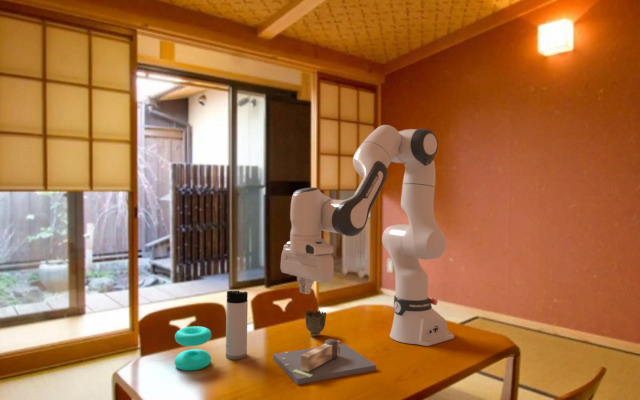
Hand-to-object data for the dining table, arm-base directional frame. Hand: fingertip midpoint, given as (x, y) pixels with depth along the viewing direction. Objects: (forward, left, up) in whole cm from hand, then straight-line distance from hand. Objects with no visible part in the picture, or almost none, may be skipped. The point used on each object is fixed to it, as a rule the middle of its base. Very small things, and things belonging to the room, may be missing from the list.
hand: (305, 293), depth 126 cm
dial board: (-6, +1, -21) cm, 22 cm away
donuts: (+29, -13, -21) cm, 38 cm away
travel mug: (+16, -15, -21) cm, 31 cm away
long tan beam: (-4, +3, -19) cm, 20 cm away
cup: (-14, -23, -21) cm, 35 cm away
